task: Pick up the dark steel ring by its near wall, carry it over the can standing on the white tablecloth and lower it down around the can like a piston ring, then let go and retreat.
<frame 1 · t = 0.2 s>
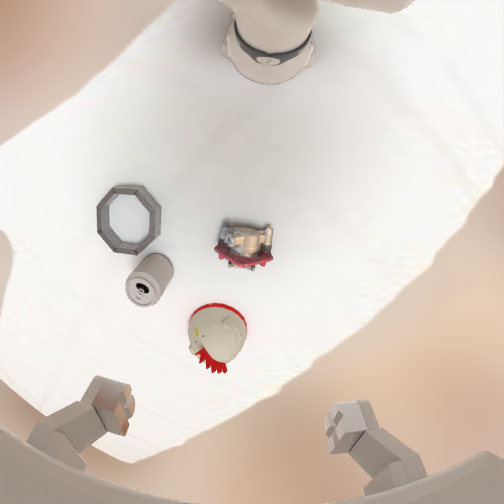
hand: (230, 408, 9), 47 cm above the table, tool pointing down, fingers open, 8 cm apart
brake caliper: (244, 242, 57), on the table
steel ring: (131, 217, 55), on the table
kitchen timer: (218, 326, 65), on the table
can: (158, 267, 59), on the table
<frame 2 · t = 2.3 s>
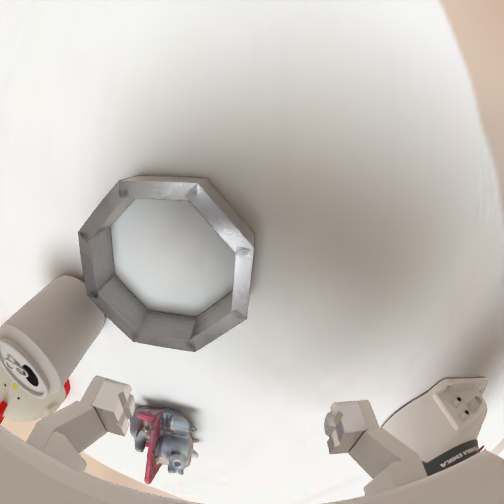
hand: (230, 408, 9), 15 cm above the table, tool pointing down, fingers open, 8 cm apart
brake caliper: (168, 420, 32), on the table
steel ring: (170, 258, 23), on the table
kitchen timer: (37, 363, 30), on the table
can: (80, 302, 25), on the table
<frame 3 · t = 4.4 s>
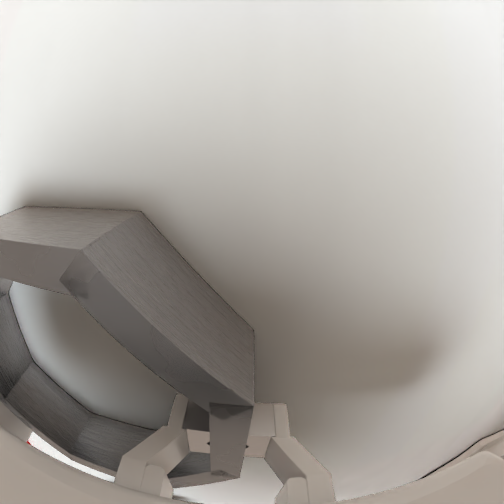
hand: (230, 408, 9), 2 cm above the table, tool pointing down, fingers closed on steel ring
steel ring: (98, 356, 11), on the table, touching gripper
can: (10, 378, 13), on the table
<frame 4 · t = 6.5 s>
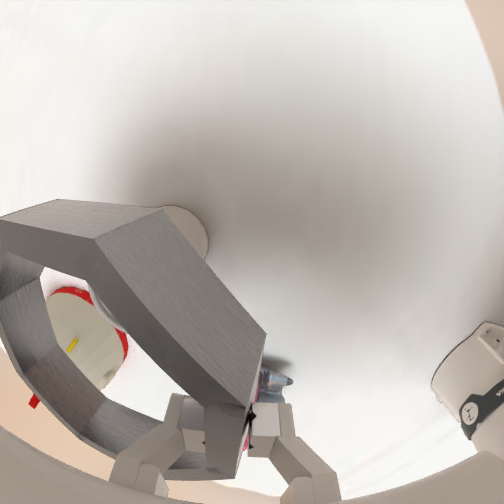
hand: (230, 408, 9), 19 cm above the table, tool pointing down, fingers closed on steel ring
brake caliper: (249, 381, 35), on the table
steel ring: (118, 344, 12), point 16 cm above the table, tilted 11°, touching gripper
kitchen timer: (85, 329, 32), on the table
can: (174, 239, 27), on the table
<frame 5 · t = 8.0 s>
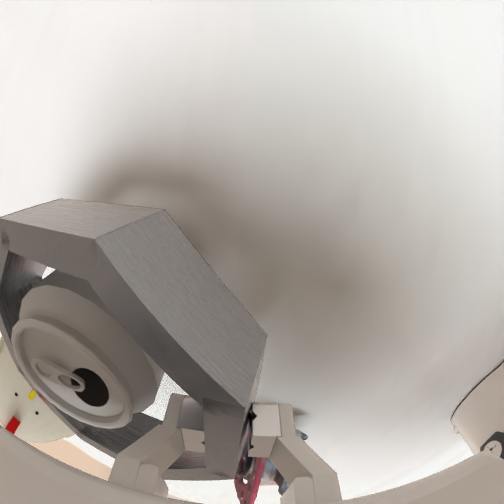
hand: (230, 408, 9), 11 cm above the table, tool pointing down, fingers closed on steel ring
brake caliper: (253, 429, 27), on the table
steel ring: (120, 344, 12), point 8 cm above the table, tilted 11°, touching gripper
kitchen timer: (57, 361, 24), on the table
can: (151, 265, 19), on the table
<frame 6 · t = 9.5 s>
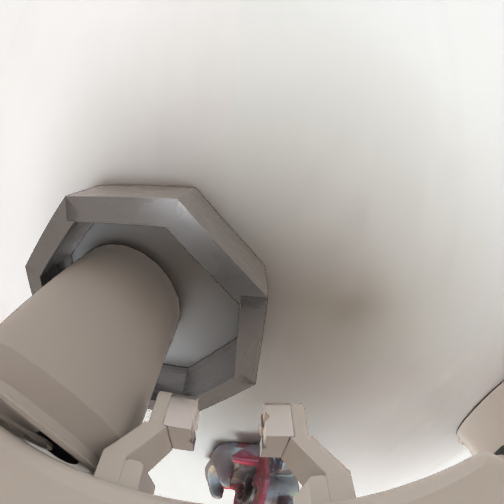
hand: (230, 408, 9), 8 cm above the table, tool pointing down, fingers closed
brake caliper: (253, 454, 24), on the table
steel ring: (148, 297, 16), on the table
can: (129, 293, 16), resting in steel ring, touching gripper
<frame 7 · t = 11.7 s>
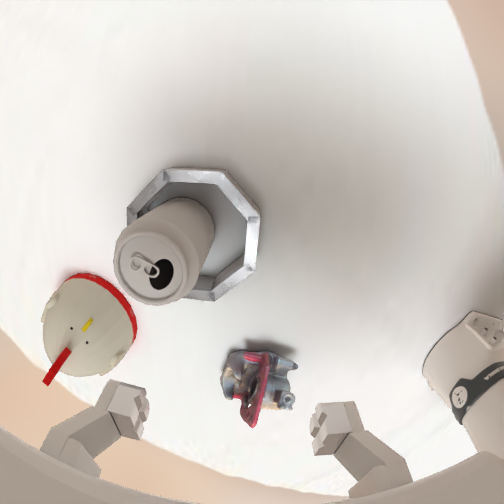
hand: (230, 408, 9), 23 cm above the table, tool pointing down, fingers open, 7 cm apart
brake caliper: (256, 366, 38), on the table
steel ring: (195, 229, 31), on the table
kitchen timer: (97, 314, 36), on the table
can: (184, 227, 31), resting in steel ring
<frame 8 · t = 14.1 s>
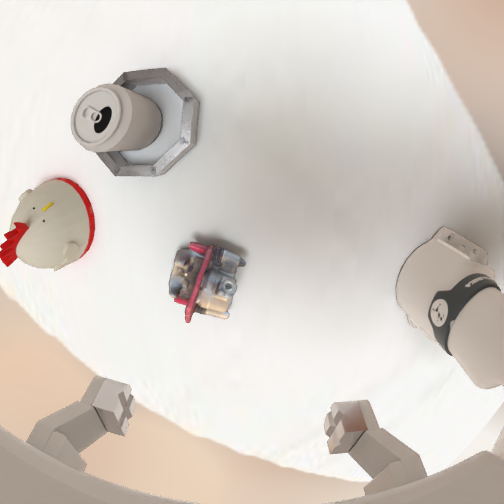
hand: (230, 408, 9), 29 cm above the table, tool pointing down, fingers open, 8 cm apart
brake caliper: (207, 271, 40), on the table
steel ring: (147, 123, 32), on the table
kitchen timer: (63, 219, 37), on the table
can: (139, 124, 32), resting in steel ring
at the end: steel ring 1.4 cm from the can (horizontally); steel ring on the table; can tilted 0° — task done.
